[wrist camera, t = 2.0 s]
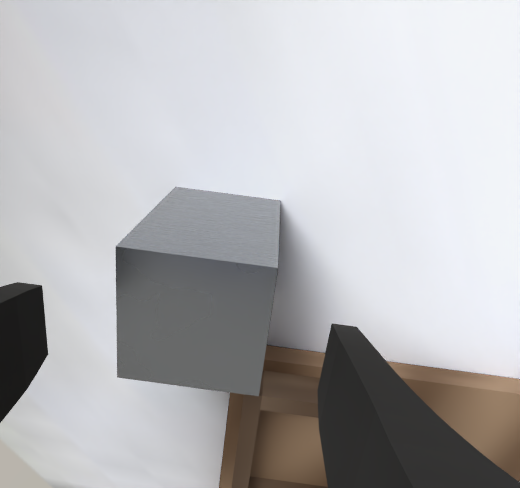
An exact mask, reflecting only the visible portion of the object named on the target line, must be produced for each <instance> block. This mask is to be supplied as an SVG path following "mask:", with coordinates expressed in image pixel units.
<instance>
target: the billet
mask: <svg viewBox="0 0 520 488" xmlns="http://www.w3.org/2000/svg"><path fill="white" fill-rule="evenodd" d="M279 228H280V201H279V200H272V199H264V198H256V197H249V196H241V195H234V194H226V193H218V192H211V191H203V190H196V189H188V188H180V187H175V188H174V189H173V190H172V191H171V192H170V193H169V194H168V195H167V196H166V197H165V198H164V199H163V200H162V201H161V202H160V203H159V204H158V205H157V206H156V207H155V208H154V209H153V210H152V211H151V212H150V213H149V214H148V215H147V216H146V217H145V218H144V219H143V220H142V221H141V222H140V223H139V224H138V225H137V226H136V227H135V228H134V229H133V230H132V231H131V232H130V233H129V234H128V235H127V236H126V237H125V238H124V239H123V240H122V241H121V242H120V243H119V244H118V245H117V246H116V305H117V377H119V378H126V379H134V380H141V381H149V382H156V383H163V384H171V385H178V386H186V387H193V388H201V389H208V390H215V391H223V392H230V393H238V394H245V395H253V396H259V392H260V385H261V378H262V372H263V365H264V359H265V352H266V345H267V339H268V332H269V325H270V319H271V312H272V305H273V299H274V292H275V286H276V279H277V272H278V258H279Z"/></svg>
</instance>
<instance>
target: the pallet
mask: <svg viewBox="0 0 520 488" xmlns="http://www.w3.org/2000/svg"><path fill="white" fill-rule="evenodd" d="M324 357H325V353H321V352H313V351H306V350H298V349H291V348H284V347H276V346H269V345H266V352H265V359H264V365H263V372H262V378H261V385H260V392H259V396H253V395H245V394H238V393H230V398H229V406H228V415H227V423H226V432H225V440H224V449H223V457H222V466H221V474H220V483H219V488H328V485H327V478H326V472H325V466H324V459H323V453H322V446H321V440H320V433H319V422H318V391H317V390H318V385H319V380H320V376H321V371H322V366H323V362H324ZM386 362H387V363H388V364H389V365H390V366H391V367H392V369H393V370H394V371H395V372H396V373H397V374H398V375H399V376H400V377H401V378H402V380H403V381H404V382H405V383H406V384H407V385H408V386H409V387H410V388H411V389H412V390H413V391H414V392H415V393H416V394H417V395H418V396H419V397H420V398H421V399H422V400H423V401H424V402H425V403H426V404H427V405H428V406H429V407H430V408H431V409H432V410H433V411H434V412H435V413H436V414H437V415H438V416H439V417H440V418H441V419H442V420H444V421H445V422H446V423H447V424H448V425H449V426H450V427H451V428H452V429H454V430H455V431H456V432H457V433H458V434H459V435H461V436H462V437H463V438H464V439H465V440H466V441H468V442H469V443H470V444H471V445H472V446H473V447H475V448H476V449H477V450H478V451H479V452H481V453H482V454H483V455H484V456H486V457H487V458H488V459H489V460H491V461H492V462H493V463H495V464H496V465H497V466H498V467H500V468H501V469H502V470H504V471H505V472H506V473H508V474H509V475H510V476H512V477H513V478H515V479H516V480H517V481H520V379H515V378H507V377H500V376H492V375H485V374H477V373H470V372H462V371H455V370H448V369H440V368H433V367H425V366H418V365H410V364H403V363H395V362H388V361H386Z"/></svg>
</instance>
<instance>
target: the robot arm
mask: <svg viewBox="0 0 520 488" xmlns="http://www.w3.org/2000/svg"><path fill="white" fill-rule="evenodd" d="M47 355H48V348H47V337H46V326H45V314H44V303H43V291H42V286H41V285H34V284H26V283H18V282H17V283H13V284H9V285H6V286H2V287H0V423H1V421H2V420H3V419H4V418H5V416H6V415H7V414H8V413H9V411H10V410H11V409H12V408H13V406H14V405H15V404H16V403H17V401H18V400H19V399H20V397H21V396H22V395H23V394H24V392H25V391H26V390H27V388H28V387H29V385H30V383H31V382H32V380H33V379H34V377H35V375H36V374H37V372H38V370H39V369H40V367H41V365H42V364H43V362H44V360H45V358H46V357H47ZM317 391H318V422H319V433H320V440H321V446H322V453H323V459H324V466H325V472H326V478H327V485H328V488H520V482H519V481H517V480H516V479H515V478H513V477H512V476H510V475H509V474H508V473H506V472H505V471H504V470H502V469H501V468H500V467H498V466H497V465H496V464H495V463H493V462H492V461H491V460H489V459H488V458H487V457H486V456H484V455H483V454H482V453H481V452H479V451H478V450H477V449H476V448H475V447H473V446H472V445H471V444H470V443H469V442H468V441H466V440H465V439H464V438H463V437H462V436H461V435H459V434H458V433H457V432H456V431H455V430H454V429H452V428H451V427H450V426H449V425H448V424H447V423H446V422H445V421H444V420H442V419H441V418H440V417H439V416H438V415H437V414H436V413H435V412H434V411H433V410H432V409H431V408H430V407H429V406H428V405H427V404H426V403H425V402H424V401H423V400H422V399H421V398H420V397H419V396H418V395H417V394H416V393H415V392H414V391H413V390H412V389H411V388H410V387H409V386H408V385H407V384H406V383H405V382H404V381H403V380H402V378H401V377H400V376H399V375H398V374H397V373H396V372H395V371H394V370H393V369H392V367H391V366H390V365H389V364H388V363H387V362H386V361H385V359H384V358H383V357H382V356H381V355H380V354H379V352H378V351H377V350H376V349H375V348H374V347H373V345H372V344H371V343H370V342H369V341H368V339H367V338H366V337H365V336H364V335H363V334H362V332H361V331H360V330H359V329H358V328H357V327H353V326H345V325H338V324H332V325H331V330H330V334H329V339H328V343H327V348H326V353H325V357H324V362H323V366H322V371H321V376H320V380H319V385H318V390H317Z"/></svg>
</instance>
